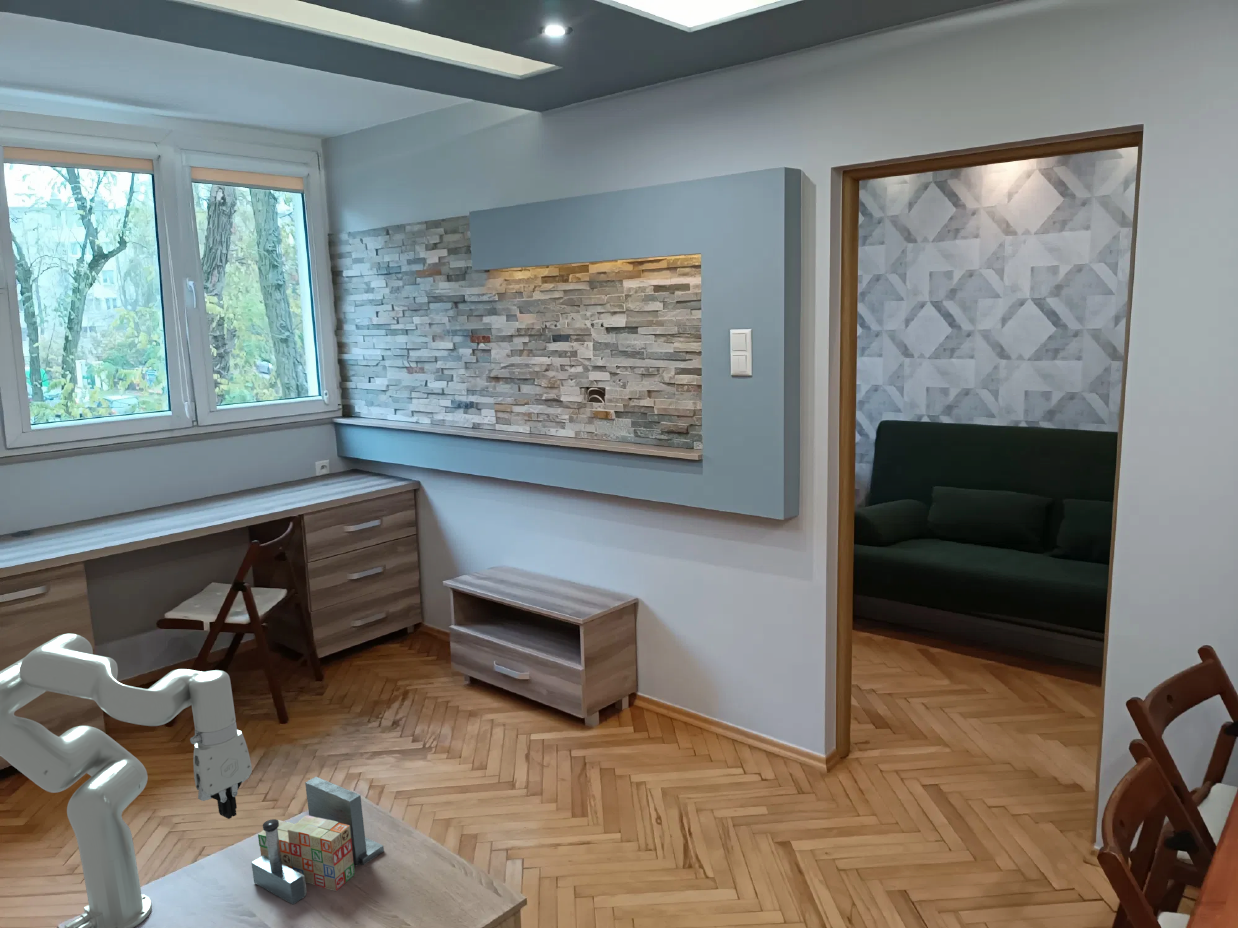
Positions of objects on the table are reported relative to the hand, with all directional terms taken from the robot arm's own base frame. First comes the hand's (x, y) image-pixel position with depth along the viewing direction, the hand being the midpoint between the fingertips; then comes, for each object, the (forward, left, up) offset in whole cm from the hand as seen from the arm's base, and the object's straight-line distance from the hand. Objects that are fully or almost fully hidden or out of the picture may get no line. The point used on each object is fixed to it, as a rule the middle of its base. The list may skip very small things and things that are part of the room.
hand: (228, 814), depth 182 cm
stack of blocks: (+16, 0, -23) cm, 28 cm away
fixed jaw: (+27, 0, -23) cm, 35 cm away
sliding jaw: (+9, 0, -23) cm, 24 cm away
